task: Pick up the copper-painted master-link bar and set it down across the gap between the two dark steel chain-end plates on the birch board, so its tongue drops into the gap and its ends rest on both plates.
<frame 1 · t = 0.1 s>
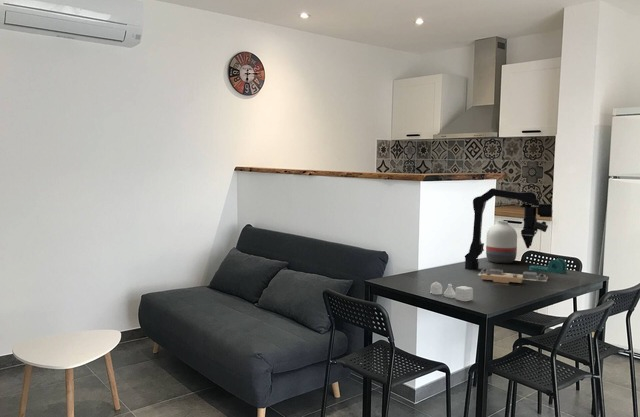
hand: (529, 247, 267), 15 cm above the table, fingers open, 9 cm apart
lower chain end: (495, 274, 266), resting on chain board
vase: (500, 262, 308), on the table
master link: (501, 283, 250), on the table
container set: (449, 297, 225), on the table
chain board: (512, 277, 263), on the table
upper chain end: (529, 277, 259), resting on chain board
teal handled piece: (546, 272, 278), on the table
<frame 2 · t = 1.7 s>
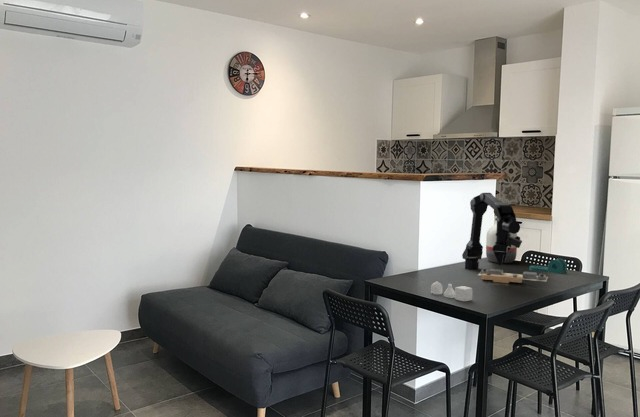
hand: (501, 263, 249), 10 cm above the table, fingers open, 9 cm apart
nothing on the table moved.
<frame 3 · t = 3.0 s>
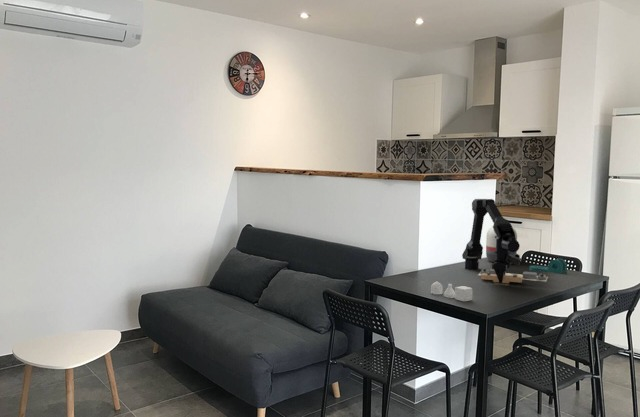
hand: (501, 281, 250), 1 cm above the table, fingers closed on master link, 4 cm apart
master link: (501, 283, 250), on the table, touching gripper
everything else where it was.
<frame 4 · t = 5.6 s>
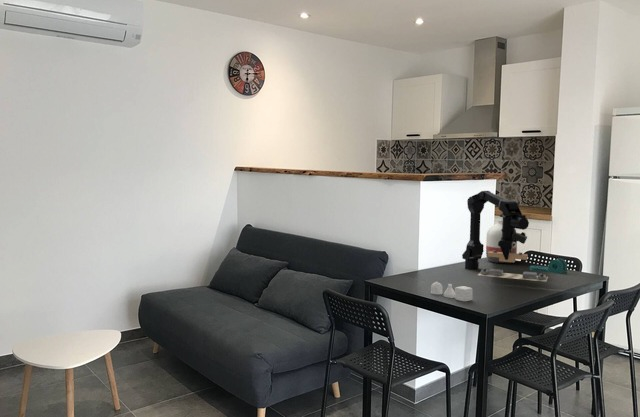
hand: (507, 259, 256), 11 cm above the table, fingers closed on master link, 4 cm apart
master link: (507, 261, 256), point 10 cm above the table, touching gripper
everything else where it was.
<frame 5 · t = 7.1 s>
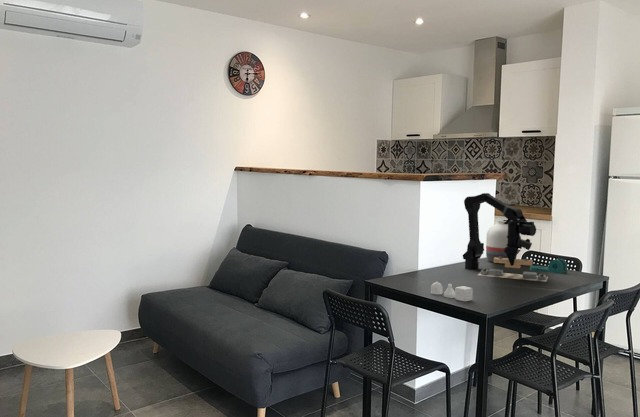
hand: (512, 264, 262), 7 cm above the table, fingers closed on master link, 4 cm apart
master link: (512, 266, 262), point 6 cm above the table, touching gripper
everything else where it was.
when the fingers open (3 cm above the table, at t = 8.4 s): master link drops 1 cm, resting on lower chain end, upper chain end.
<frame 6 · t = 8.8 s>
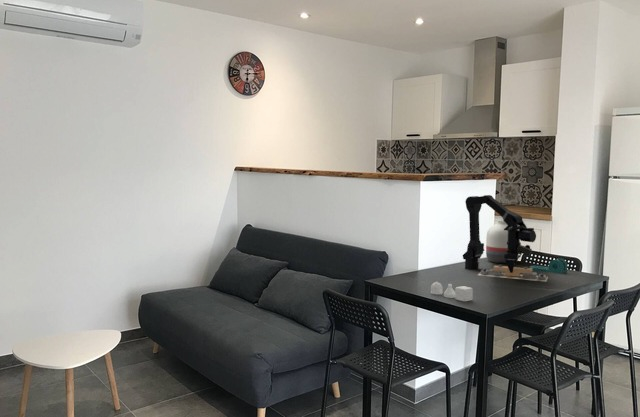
hand: (512, 271, 262), 3 cm above the table, fingers open, 9 cm apart
master link: (512, 275, 263), point 1 cm above the table, touching lower chain end, upper chain end
everything else where it was.
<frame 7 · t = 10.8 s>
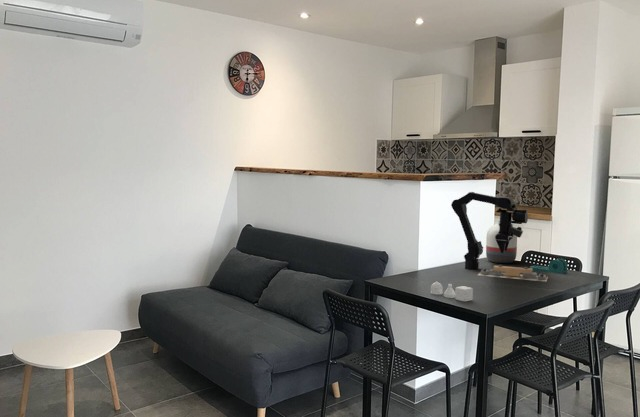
hand: (503, 251, 271), 12 cm above the table, fingers open, 9 cm apart
nothing on the table moved.
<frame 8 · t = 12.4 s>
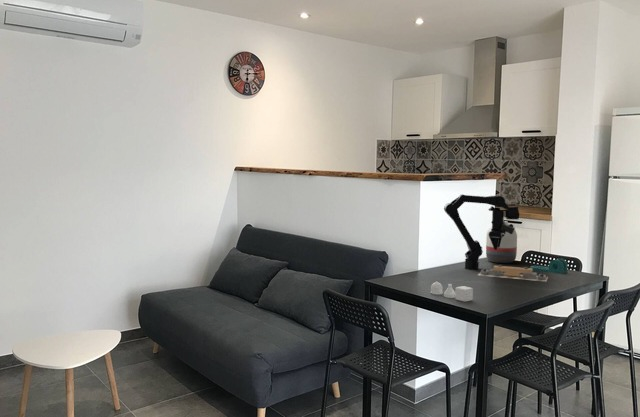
hand: (497, 248, 280), 12 cm above the table, fingers open, 9 cm apart
nothing on the table moved.
at the end: master link 0.0 cm from the target spot, point 1.4 cm above the table; master link touching lower chain end, upper chain end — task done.
